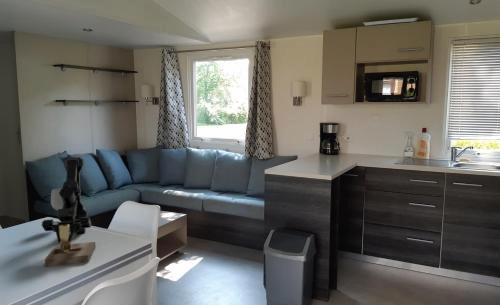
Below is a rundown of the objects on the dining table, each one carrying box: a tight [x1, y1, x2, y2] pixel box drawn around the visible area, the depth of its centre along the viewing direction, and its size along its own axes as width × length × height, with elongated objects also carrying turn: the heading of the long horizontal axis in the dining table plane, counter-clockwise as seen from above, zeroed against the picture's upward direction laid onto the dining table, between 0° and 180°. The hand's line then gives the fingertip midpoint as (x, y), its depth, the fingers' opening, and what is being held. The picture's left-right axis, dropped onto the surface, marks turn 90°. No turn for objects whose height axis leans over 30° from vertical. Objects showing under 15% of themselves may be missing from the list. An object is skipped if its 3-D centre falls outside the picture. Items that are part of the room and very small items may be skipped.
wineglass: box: [50, 188, 63, 212], centre depth 196 cm, size 8×8×21 cm
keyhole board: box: [44, 241, 96, 267], centre depth 158 cm, size 16×16×3 cm
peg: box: [59, 224, 72, 253], centre depth 156 cm, size 4×4×14 cm
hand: (64, 241), depth 155 cm, fingers closed on peg, 4 cm apart
